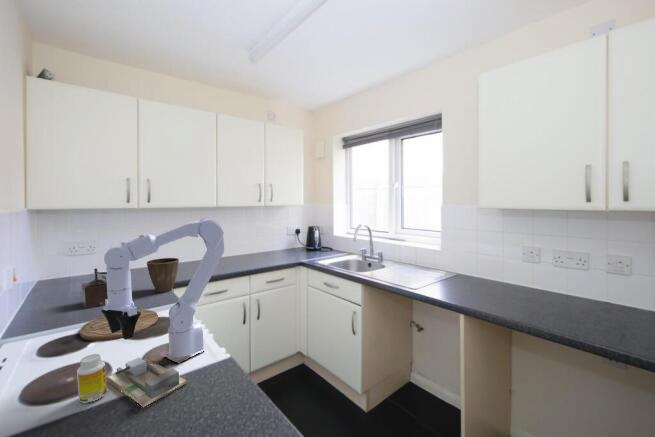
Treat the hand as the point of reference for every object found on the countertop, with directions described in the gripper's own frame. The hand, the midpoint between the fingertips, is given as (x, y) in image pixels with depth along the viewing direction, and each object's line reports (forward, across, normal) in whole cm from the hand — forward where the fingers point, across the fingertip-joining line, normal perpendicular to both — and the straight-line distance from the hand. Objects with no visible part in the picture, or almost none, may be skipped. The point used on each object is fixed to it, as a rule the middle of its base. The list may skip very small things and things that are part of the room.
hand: (122, 334), depth 89 cm
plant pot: (+10, -63, +47) cm, 79 cm away
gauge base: (+10, +12, 0) cm, 16 cm away
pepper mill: (+11, -70, +22) cm, 74 cm away
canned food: (+11, -90, +33) cm, 96 cm away
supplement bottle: (+11, +7, -10) cm, 16 cm away
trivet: (+11, -34, +14) cm, 38 cm away
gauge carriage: (+9, +7, -1) cm, 12 cm away
